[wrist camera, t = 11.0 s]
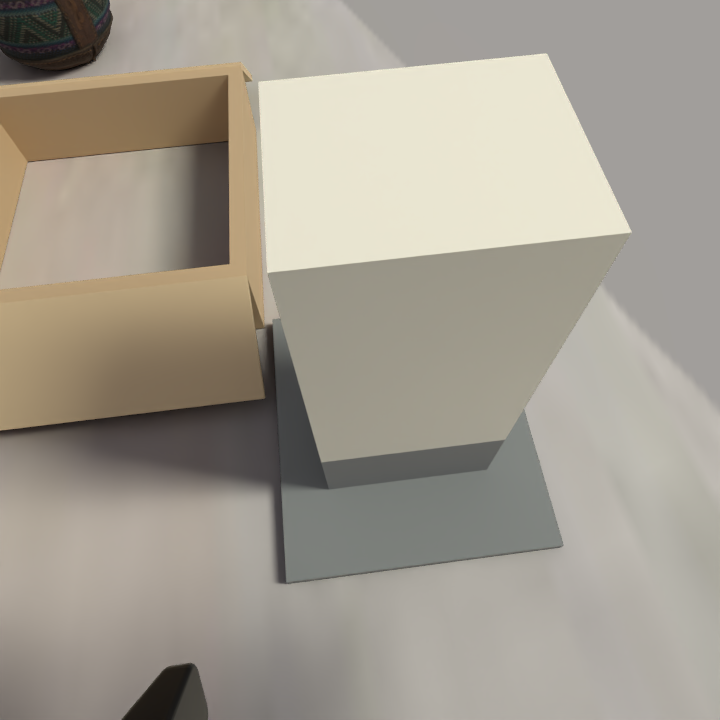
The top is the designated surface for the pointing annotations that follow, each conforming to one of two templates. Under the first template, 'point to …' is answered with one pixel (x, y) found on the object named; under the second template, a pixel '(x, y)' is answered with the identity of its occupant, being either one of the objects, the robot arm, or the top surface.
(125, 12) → the top surface
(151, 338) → the tan rectangular open frame
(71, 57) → the mate gourd
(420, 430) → the box
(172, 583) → the top surface
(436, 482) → the mat
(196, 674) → the robot arm
